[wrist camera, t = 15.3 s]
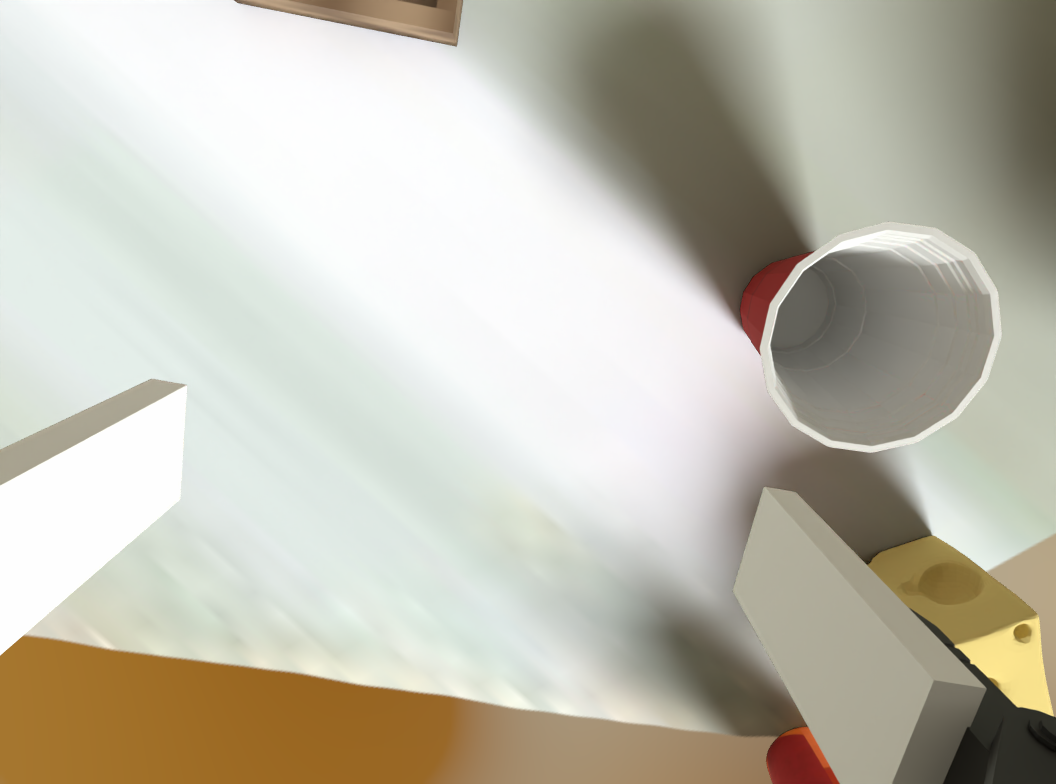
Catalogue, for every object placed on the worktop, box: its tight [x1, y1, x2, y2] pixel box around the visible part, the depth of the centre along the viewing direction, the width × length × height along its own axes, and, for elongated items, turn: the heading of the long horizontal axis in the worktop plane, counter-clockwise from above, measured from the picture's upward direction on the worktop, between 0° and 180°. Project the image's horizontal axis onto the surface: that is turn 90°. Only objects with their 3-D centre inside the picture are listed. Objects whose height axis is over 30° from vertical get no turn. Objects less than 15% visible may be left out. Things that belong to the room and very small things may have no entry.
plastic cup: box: [740, 221, 1002, 453], centre depth 37 cm, size 11×11×12 cm
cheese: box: [867, 536, 1054, 717], centre depth 44 cm, size 10×11×10 cm
